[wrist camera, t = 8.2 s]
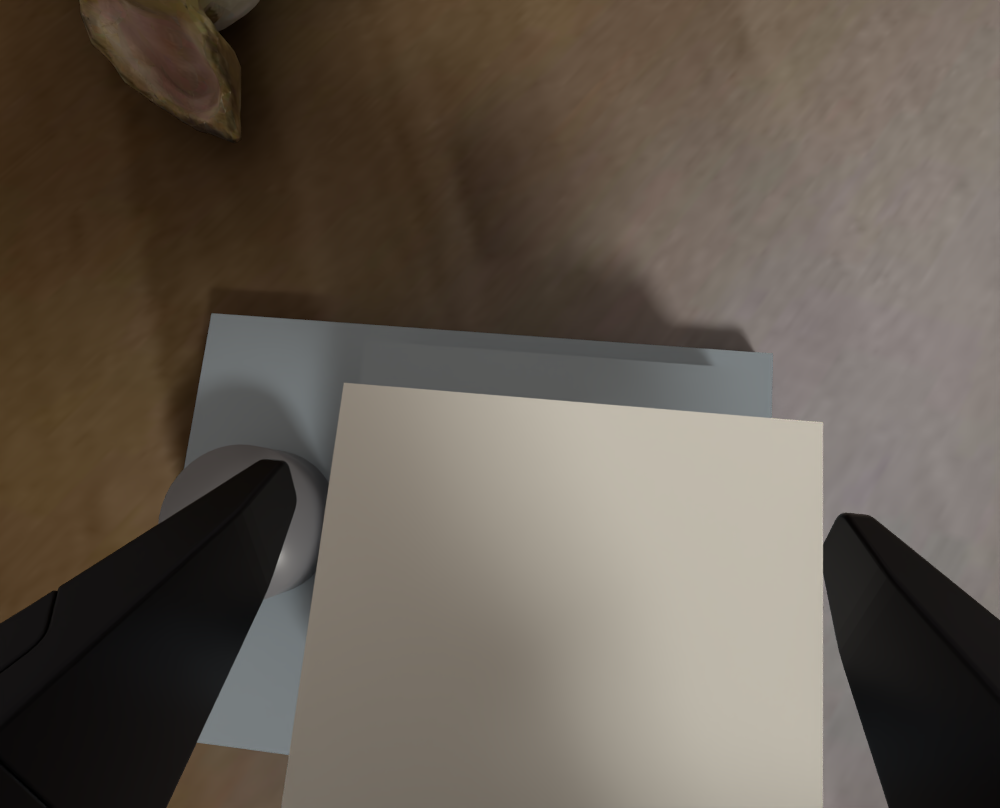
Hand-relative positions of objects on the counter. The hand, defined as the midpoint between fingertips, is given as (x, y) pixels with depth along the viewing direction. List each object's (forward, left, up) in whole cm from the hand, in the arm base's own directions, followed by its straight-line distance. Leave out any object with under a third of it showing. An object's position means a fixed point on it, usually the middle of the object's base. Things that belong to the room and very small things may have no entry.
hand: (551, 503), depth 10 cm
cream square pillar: (-1, -1, -8) cm, 8 cm away
